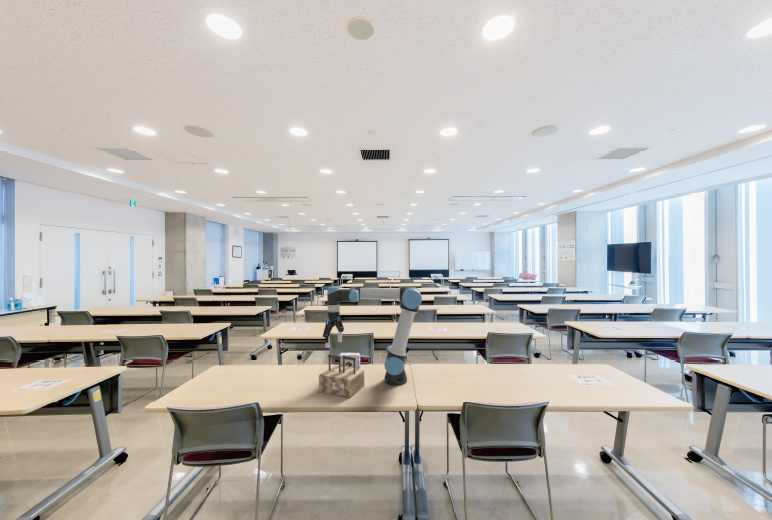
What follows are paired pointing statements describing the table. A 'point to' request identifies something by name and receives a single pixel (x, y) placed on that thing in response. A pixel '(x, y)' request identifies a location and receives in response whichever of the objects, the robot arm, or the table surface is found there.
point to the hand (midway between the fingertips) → (333, 344)
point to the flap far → (347, 369)
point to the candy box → (350, 362)
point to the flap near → (336, 374)
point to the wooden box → (341, 386)
